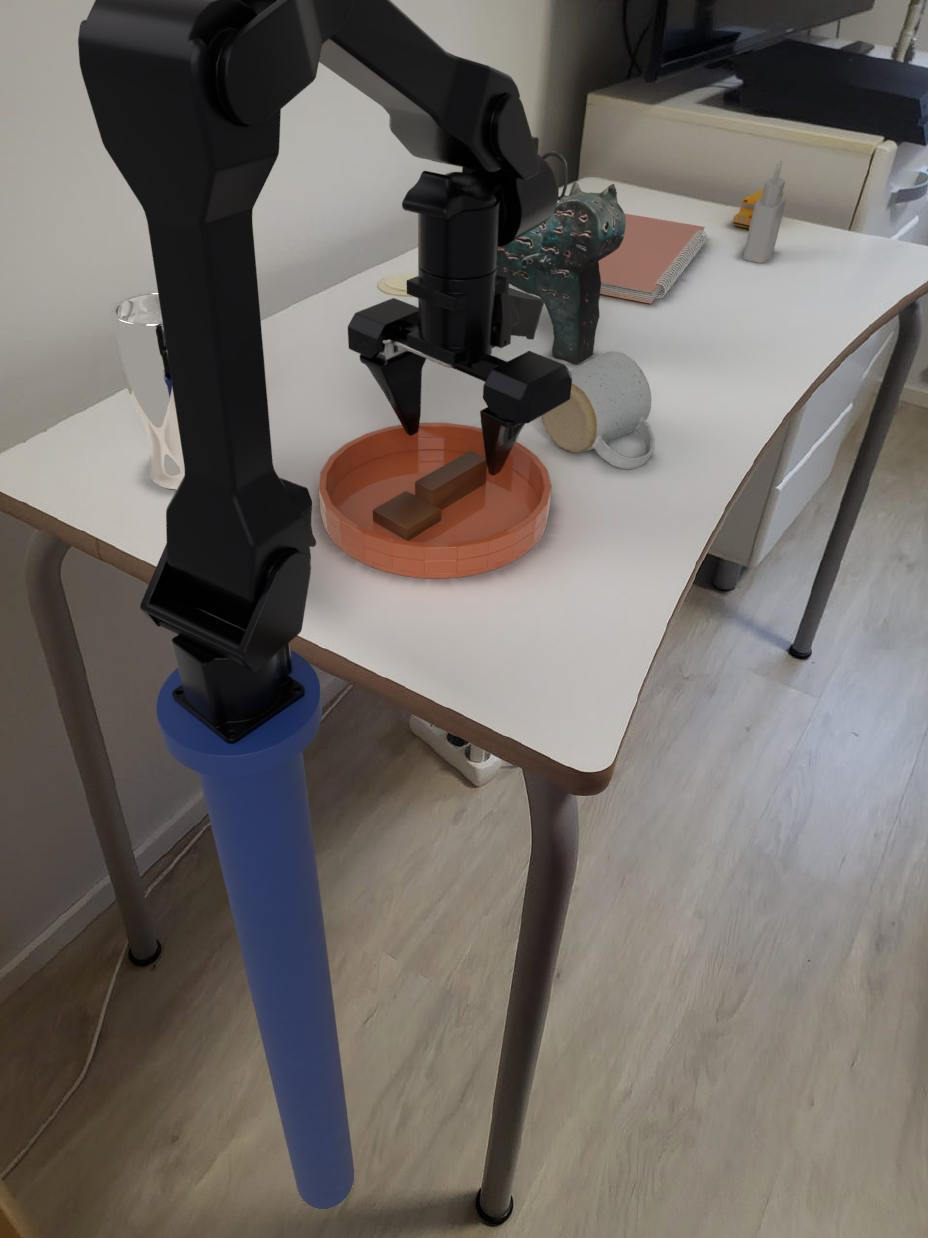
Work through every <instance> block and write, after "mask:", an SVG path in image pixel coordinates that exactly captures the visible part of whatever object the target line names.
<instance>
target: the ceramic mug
mask: <svg viewBox="0 0 928 1238" xmlns="http://www.w3.org/2000/svg"><path fill="white" fill-rule="evenodd" d="M569 371H570V372H571V376H572V386H571V395H570V400H568V401H567V402H565V403H563V404H561V405H560V406H558V407H556V408H554V409H553V410H551V411H549V412H547V413H546V414H544V415H542V416H540V418H541V421H542V425H543V427H544V430H545V431H546V433H547V435H548V436H549V438H550V439H551V440H552V441H553V442H554V443H555V444H556V445H557V446H558V447H559V448H561V449H563V450H565V451H568V452H571V453H583V452H587V451H591V450H595V452H596V453H597V454H598V455H599V457H600V458H601V459H603V460H604V461H606V462H607V463H608V464H609V465H611V466H613V467H615V468H619V469H623V470H632V469H633V470H634V469H637V468H639V467H641V466H643V465H645V464H646V463H647V461H648V460H649V459H650V457H651V456H652V455H653V453H654V451H655V448H656V439H655V434H654V433H653V430H652V427H651V426H650V424H649V423H648V421H647V420H648V417H649V416H650V412H651V408H652V392H651V387H650V384H649V382H648V381H649V380H648V379H647V377H646V374H645V373H644V371H643V370H642V368H641V367H640V366H639V364H638V363H637V362H636V360H634V359H633V358H631V357H630V356H628V355H627V354H625V353H623V352H620V351H614V350H610V351H606V352H603V353H601V354H599V355H597V356H595V357H593V358H592V359H590V360H587V361H586V362H584V363H582V364H580V365H578V366H576V367H575V368H573V369H572V370H569ZM635 431H637V433H638V434H639V437H641V440H642V441H643V444H644V447H645V454H643V455H640V456H635V457H632V456H626V455H622V454H620V453H618V452H617V451H615V450H613V448H612V447H610V446H609V445H608V444H607V443H609V442H612V441H614V440H615V439H618V438H621V437H623V436H625V435H628V434H629V433H632V432H635Z"/></svg>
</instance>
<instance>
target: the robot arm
mask: <svg viewBox="0 0 928 1238" xmlns="http://www.w3.org/2000/svg"><path fill="white" fill-rule="evenodd" d="M77 39H78V40H77V45H78V46H77V47H78V59H79V61H78V62H79V68H80V72H81V76H82V80H83V83H84V86H85V91H86V92H87V93H86V94H87V96H88V99H89V102H90V107H91V110H92V113H93V116H94V119H95V122H96V126H97V130H98V133H99V135H100V140H101V142H102V145H103V147H104V149H105V151H106V152H107V153H108V155H109V157H110V159H111V160H112V161H113V163H114V165H115V166H116V168H117V169H118V171H119V172H120V174H121V176H122V177H123V179H124V181H125V182H126V183H127V185H128V187H129V189H131V191H132V194H133V195H134V196H135V198H136V199H137V201H138V203H139V204H140V206H141V207H142V209H143V212H144V214H145V219H146V222H147V223H146V224H147V229H148V235H149V236H148V237H149V241H150V248H151V256H152V261H153V268H154V275H155V282H156V287H157V292H158V295H159V302H160V309H161V315H162V322H163V329H164V335H165V342H166V348H167V355H168V362H169V368H170V375H171V381H172V388H173V395H174V401H175V408H176V414H177V421H178V428H179V434H180V441H181V447H182V454H183V461H184V468H185V475H184V477H183V479H182V481H181V483H180V485H179V486H178V488H177V490H175V492H174V494H173V495H172V497H171V500H170V501H169V503H168V504H167V506H166V510H165V520H166V521H165V524H166V525H165V526H166V527H165V529H166V534H165V535H166V543H165V546H164V548H163V551H162V553H161V556H160V558H159V560H158V562H157V564H156V567H155V569H154V571H153V573H152V576H151V579H150V581H149V583H148V585H147V588H146V590H145V593H144V595H143V597H142V600H141V602H140V605H139V608H140V610H141V612H142V613H143V614H144V616H145V617H146V618H147V619H148V620H149V622H150V623H151V624H153V625H154V626H156V627H159V628H161V627H162V628H164V629H166V630H168V631H170V632H172V633H174V634H176V635H175V636H174V637H173V638H172V639H171V643H172V647H173V653H174V656H175V662H176V665H177V668H178V670H179V674H180V678H181V682H182V685H181V686H179V687H178V688H176V689H175V690H173V692H172V696H173V699H174V701H176V702H177V703H178V704H179V705H181V706H182V707H183V708H184V709H185V710H187V711H188V712H189V713H190V714H192V715H193V716H194V717H195V718H197V719H198V720H199V721H200V722H201V723H203V724H204V725H205V726H206V727H208V728H209V729H210V730H211V731H213V732H214V733H215V734H216V735H217V736H219V737H220V738H221V739H222V740H224V741H225V742H226V743H228V744H235V743H237V742H238V741H240V740H241V739H243V738H244V737H245V736H247V735H248V734H250V733H251V732H253V731H254V730H256V729H257V728H259V727H260V726H261V725H263V724H264V723H266V722H267V721H269V720H270V719H272V718H273V717H275V716H276V715H277V714H279V713H280V712H282V711H283V710H285V709H286V708H288V707H289V706H290V705H292V704H293V703H295V702H296V701H298V700H299V699H301V698H302V697H303V696H304V694H305V691H304V687H303V686H302V685H301V684H299V683H298V682H297V681H295V680H294V679H292V678H291V677H290V676H289V674H290V673H292V662H291V654H290V650H291V647H290V642H292V641H293V640H294V639H295V638H297V636H299V635H300V634H301V632H302V629H303V626H304V625H303V624H304V618H305V611H306V604H307V599H308V593H309V585H310V579H311V571H312V563H311V562H312V561H311V559H312V554H311V548H314V547H316V545H317V541H316V538H315V536H314V533H313V527H312V514H313V500H312V497H311V494H310V491H309V489H308V487H306V486H303V485H300V484H298V483H295V482H292V481H289V480H287V479H286V478H285V479H284V478H282V477H280V476H279V475H278V473H277V472H276V470H275V467H274V462H273V449H272V438H271V426H270V415H269V414H270V413H269V404H268V392H267V379H266V367H265V355H264V344H263V332H262V330H263V329H262V319H261V309H260V308H261V307H260V298H259V297H260V295H259V285H258V284H259V283H258V273H257V272H258V271H257V263H256V262H257V261H256V250H255V235H254V226H253V210H254V207H255V205H256V202H257V201H258V199H259V196H260V195H261V193H262V190H263V188H264V187H265V184H266V182H267V180H268V178H269V176H270V174H271V173H272V170H273V168H274V165H275V163H276V161H277V159H278V157H279V154H280V141H281V140H280V139H281V116H282V112H281V111H282V109H283V108H284V107H285V106H286V105H288V103H290V102H291V101H292V100H293V99H295V98H296V97H297V96H298V95H299V94H301V92H303V91H304V90H305V89H306V88H308V86H310V85H311V84H312V83H313V82H314V81H315V79H316V78H317V74H318V69H319V64H322V65H323V66H324V67H326V68H327V69H328V70H329V71H331V72H332V73H334V74H336V75H337V76H338V77H340V78H341V79H342V80H344V81H345V82H346V83H349V85H351V86H352V87H353V88H355V89H357V90H358V91H360V92H361V93H362V94H364V96H365V95H366V96H367V97H368V98H369V99H371V100H372V101H374V102H375V103H376V104H378V105H380V106H381V107H382V108H383V109H384V110H385V111H386V113H387V114H388V115H389V120H388V121H389V122H388V123H389V124H388V126H389V129H390V131H391V133H392V134H393V135H394V136H395V138H396V139H397V140H398V141H399V142H400V143H401V145H402V146H404V148H405V149H406V150H407V152H408V153H409V154H410V155H412V156H413V157H415V158H418V159H422V160H428V161H431V162H436V163H440V164H444V165H448V166H449V165H450V166H455V167H459V168H461V169H462V170H461V171H452V172H451V171H450V172H447V173H444V174H443V173H438V172H434V171H429V170H423V171H421V173H420V176H419V178H418V180H417V181H416V183H415V184H414V185H413V186H412V187H411V188H410V189H408V191H407V192H406V194H405V195H404V198H403V200H402V201H401V207H402V209H403V210H404V211H405V212H411V213H413V214H414V213H415V214H417V249H418V250H417V263H418V264H417V265H418V266H417V269H418V270H417V275H416V276H414V277H412V278H409V279H406V295H409V296H411V297H414V298H417V305H418V306H416V305H414V304H410V303H408V302H406V301H403V300H401V299H397V298H395V297H392V298H390V299H387V300H384V301H382V302H379V303H376V304H374V305H372V306H369V307H367V308H364V309H362V310H359V311H357V312H355V313H354V314H353V316H352V317H351V320H350V321H349V323H348V325H347V340H348V341H347V342H348V349H349V350H350V351H352V352H355V353H357V354H359V362H360V363H361V364H363V365H365V366H366V367H367V369H368V370H369V372H370V374H371V375H372V377H373V378H374V380H375V382H376V383H377V385H378V386H379V389H380V390H381V391H382V392H383V394H384V396H385V398H386V399H387V401H388V403H389V405H390V407H392V410H393V412H394V413H395V416H396V417H397V419H398V421H399V423H400V425H402V426H403V428H404V430H405V432H406V433H407V434H408V435H410V436H412V435H414V434H416V433H417V432H418V431H419V424H420V423H421V413H422V412H421V411H422V376H423V368H424V365H425V363H426V361H427V360H429V361H431V362H434V363H436V364H439V365H440V366H443V367H446V368H448V369H454V370H456V371H458V372H460V373H463V374H465V375H468V376H470V377H473V378H475V379H478V380H480V381H482V382H484V383H483V385H482V399H483V401H484V403H485V405H486V407H484V408H482V409H481V410H479V415H480V425H481V429H482V433H483V441H484V449H485V457H486V463H487V467H488V471H489V474H490V475H492V476H494V475H496V474H497V473H499V472H500V471H501V470H502V468H503V466H504V464H505V462H506V460H507V458H508V456H509V453H510V451H511V449H512V447H513V445H514V443H515V441H516V442H517V440H518V437H519V435H520V433H521V431H522V430H523V428H524V426H525V425H526V424H529V423H531V422H533V421H535V420H537V419H539V418H541V416H542V415H544V414H546V413H547V412H549V411H551V410H553V409H554V408H556V407H558V406H560V405H561V404H563V403H565V402H567V401H568V400H570V395H571V386H572V376H571V372H570V371H571V370H570V369H569V367H567V365H566V364H565V363H562V362H559V361H557V360H553V359H551V358H549V357H546V356H543V355H541V354H538V353H536V352H533V351H531V350H527V351H526V352H523V353H522V354H520V355H518V356H516V357H514V358H512V359H510V360H508V361H507V360H504V359H502V358H499V357H497V356H495V355H492V353H493V349H494V348H496V347H497V348H499V349H503V348H505V347H507V346H508V345H511V341H512V336H513V337H525V338H526V340H530V341H531V340H534V339H535V337H536V332H537V330H538V325H539V323H540V319H541V315H542V312H543V307H544V306H545V303H544V300H543V299H541V298H540V297H539V296H536V295H533V294H528V293H526V292H524V291H522V290H519V289H516V288H512V287H510V284H509V283H508V281H507V277H504V276H501V275H498V274H496V271H497V248H498V247H501V246H504V245H507V244H509V243H511V242H512V241H514V240H516V239H517V238H519V237H521V236H523V235H524V234H526V233H528V232H529V231H531V230H533V229H534V228H536V227H538V226H540V225H541V224H543V223H544V222H545V221H547V220H548V219H549V218H550V216H551V215H552V214H553V212H554V210H555V208H556V205H557V202H559V201H558V197H559V196H560V195H559V193H560V191H559V187H558V185H557V179H556V176H555V173H554V171H553V168H551V166H550V164H549V163H548V162H547V161H546V159H543V158H542V156H541V155H540V154H539V144H540V139H539V137H538V136H533V135H532V131H531V128H530V125H529V121H528V118H527V114H526V110H525V108H524V105H523V101H522V99H521V94H520V90H519V88H518V85H517V83H516V82H515V80H514V79H513V77H512V76H510V75H509V74H508V73H505V72H503V71H501V70H499V69H497V68H494V67H492V66H490V65H488V64H485V63H484V64H483V63H481V62H477V61H474V60H471V59H467V58H464V57H460V56H457V55H455V54H452V53H451V52H448V51H446V50H445V49H444V48H443V47H442V46H441V45H439V43H438V42H436V40H434V39H433V38H432V37H431V36H430V35H429V34H428V33H427V32H425V30H423V29H422V28H421V27H420V26H419V25H418V24H417V23H416V22H414V21H413V20H412V19H411V18H410V17H409V16H408V15H407V14H406V13H405V12H403V11H402V10H401V9H400V8H399V7H398V6H397V5H396V4H395V3H394V2H392V1H391V0H94V2H93V4H92V7H91V9H90V11H89V13H88V15H87V17H86V19H83V20H82V21H81V22H80V24H79V29H78V37H77ZM296 691H299V692H296ZM179 694H182V695H179ZM231 735H234V736H233V737H229V736H231Z"/></svg>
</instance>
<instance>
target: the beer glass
mask: <svg viewBox="0 0 928 1238" xmlns="http://www.w3.org/2000/svg"><path fill="white" fill-rule="evenodd" d="M110 312H111V314H112V315H111V316H112V321H113V329H114V339H115V343H116V350H117V356H118V361H119V365H120V369H121V373H122V378H123V380H124V383H125V386H126V389H127V391H128V394H129V396H130V399H131V401H132V404H133V406H134V409H135V411H136V413H137V415H138V417H139V421H140V422H141V425H142V427H143V429H144V433H145V436H146V439H147V444H148V452H149V476H150V478H151V481H153V483H154V484H156V485H157V486H159V487H162V488H164V489H168V490H175V491H176V490H177V488H178V486H179V485H180V483H181V481H182V479H183V477H184V475H185V468H184V461H183V454H182V447H181V441H180V434H179V428H178V421H177V414H176V408H175V401H174V395H173V388H172V381H171V375H170V368H169V362H168V355H167V348H166V342H165V335H164V329H163V322H162V315H161V309H160V302H159V295H158V291H147V292H141V293H137V294H132V295H130V296H129V295H128V296H127V297H124V298H122V299H120V300H118V301H117V302H115V304H114V305H113V306H112V308H111V311H110Z"/></svg>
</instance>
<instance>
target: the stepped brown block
mask: <svg viewBox="0 0 928 1238" xmlns="http://www.w3.org/2000/svg"><path fill="white" fill-rule="evenodd" d="M486 473H487V463H486V458H484V457H482V456H480V455H478V454H476V453H474V452H472V451H468V452H467V453H465V454H463V455H461V456H460V457H458V458H456V459H454V460H453V461H451V462H449V463H447V464H446V465H444V466H442V467H440V468H438V469H437V470H435V471H433V472H431V473H430V474H428V475H426V476H424V477H423V478H421V479H419V480H417V481H416V482H415V495H414V494H412V493H410V492H408V491H405V492H403V493H401V494H399V495H398V496H396V497H394V498H392V499H391V500H389V501H387V502H385V503H384V504H382V505H380V506H378V507H377V508H375V509H373V522H375V523H376V524H378V525H380V526H382V527H384V528H385V529H387V530H389V531H391V532H393V533H394V534H396V535H398V536H400V537H401V538H403V539H405V540H407V541H409V540H410V539H412V538H414V537H415V536H417V535H418V534H420V533H422V532H423V531H425V530H427V529H428V528H430V527H431V526H433V525H435V524H436V523H438V522H440V521H441V510H443V509H444V508H446V507H448V506H449V505H451V504H453V503H454V502H456V501H458V500H459V499H461V498H462V497H464V496H466V495H467V494H469V493H471V492H472V491H474V490H476V489H477V488H479V487H481V486H482V485H484V484H486Z"/></svg>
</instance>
